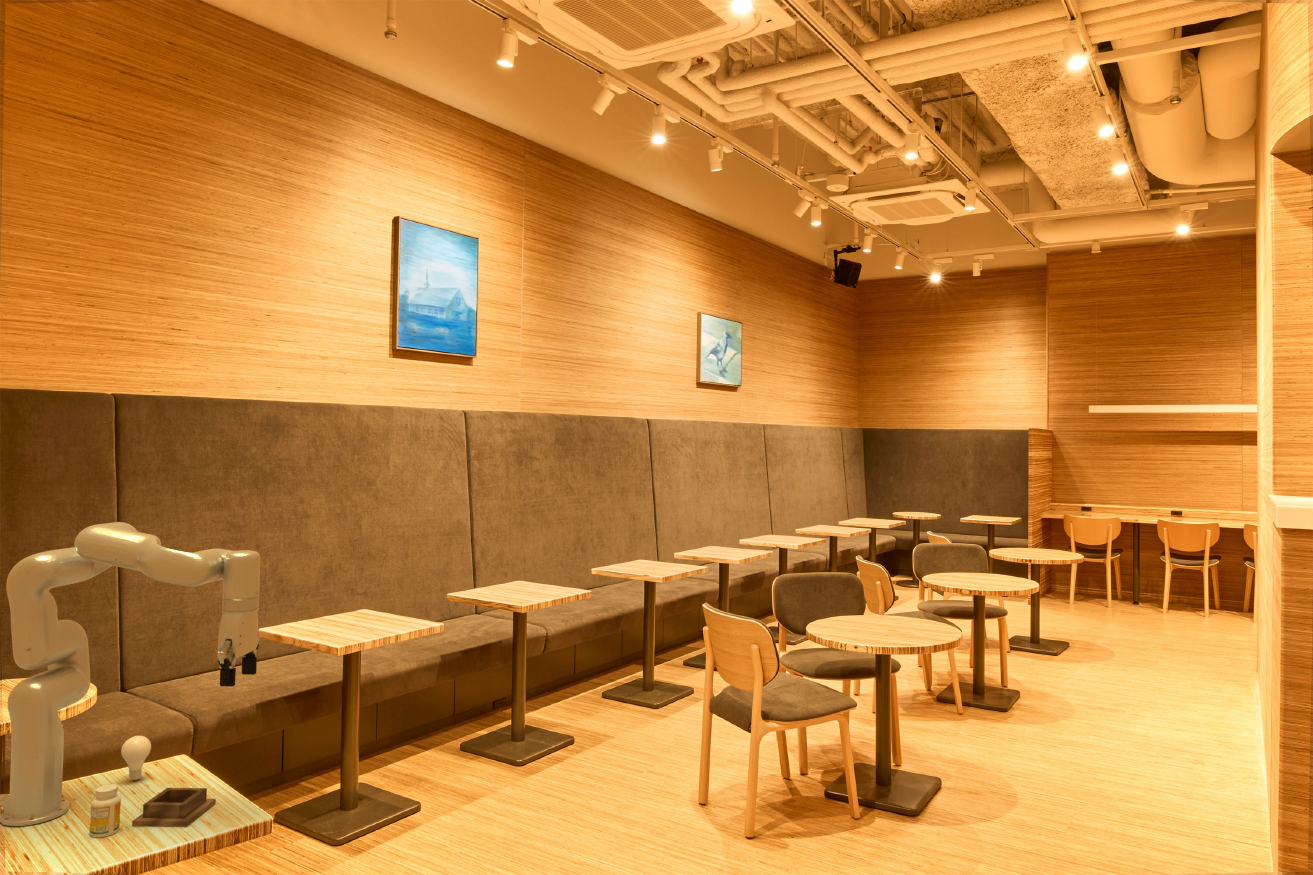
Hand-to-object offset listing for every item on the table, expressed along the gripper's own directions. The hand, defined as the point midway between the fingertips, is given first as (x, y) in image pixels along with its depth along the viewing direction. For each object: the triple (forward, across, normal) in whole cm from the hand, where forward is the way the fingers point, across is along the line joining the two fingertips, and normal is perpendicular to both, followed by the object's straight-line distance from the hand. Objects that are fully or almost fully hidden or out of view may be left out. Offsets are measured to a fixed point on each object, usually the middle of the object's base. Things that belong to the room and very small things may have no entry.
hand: (238, 679), depth 185 cm
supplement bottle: (+31, +8, -24) cm, 40 cm away
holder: (+31, -1, -14) cm, 34 cm away
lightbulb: (+31, -20, -35) cm, 51 cm away
